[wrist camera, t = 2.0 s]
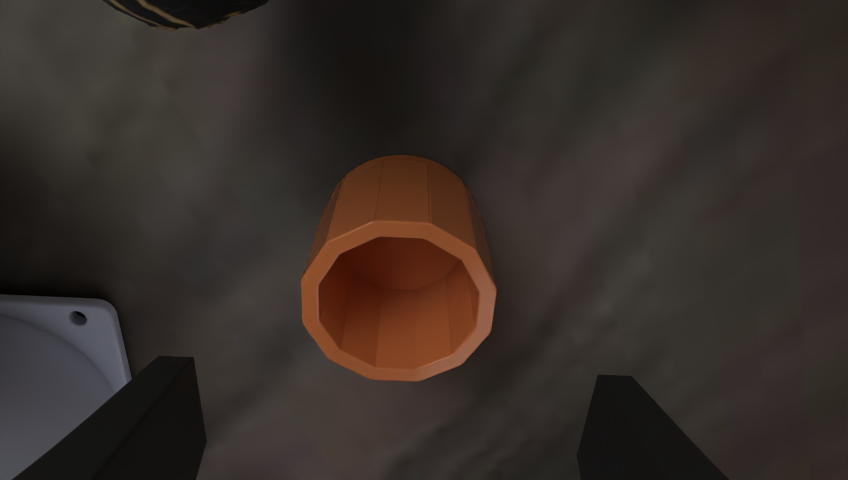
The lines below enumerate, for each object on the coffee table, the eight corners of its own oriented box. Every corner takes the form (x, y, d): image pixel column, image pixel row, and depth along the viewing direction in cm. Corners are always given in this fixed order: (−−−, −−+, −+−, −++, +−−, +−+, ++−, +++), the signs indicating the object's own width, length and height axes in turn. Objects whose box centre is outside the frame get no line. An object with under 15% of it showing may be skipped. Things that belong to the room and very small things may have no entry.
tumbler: (326, 287, 18) (304, 377, 15) (323, 149, 16) (296, 216, 13) (471, 294, 18) (484, 384, 15) (487, 158, 16) (506, 227, 13)
